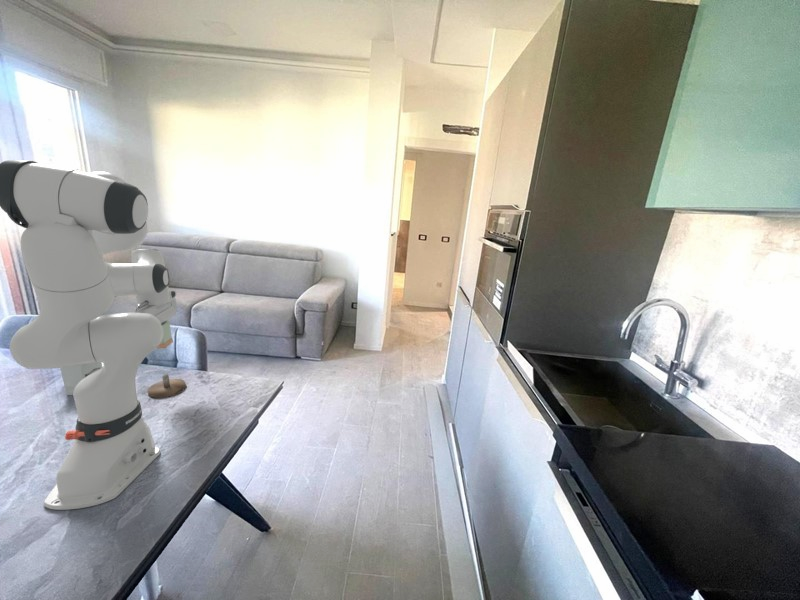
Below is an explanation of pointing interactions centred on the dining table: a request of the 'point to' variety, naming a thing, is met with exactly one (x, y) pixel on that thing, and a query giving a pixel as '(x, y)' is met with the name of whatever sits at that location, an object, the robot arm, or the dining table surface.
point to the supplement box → (77, 374)
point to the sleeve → (166, 335)
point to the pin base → (166, 387)
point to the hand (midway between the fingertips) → (159, 335)
